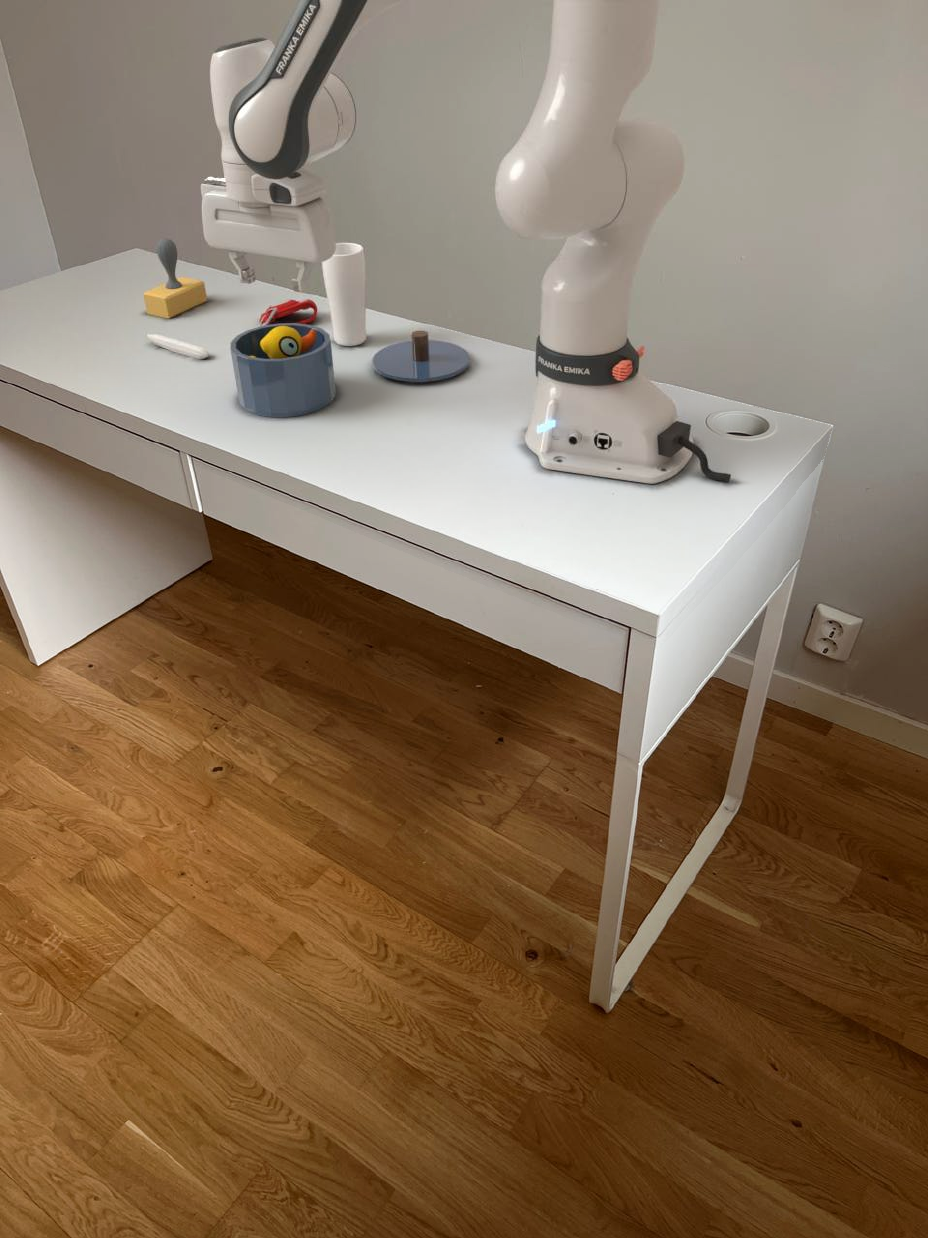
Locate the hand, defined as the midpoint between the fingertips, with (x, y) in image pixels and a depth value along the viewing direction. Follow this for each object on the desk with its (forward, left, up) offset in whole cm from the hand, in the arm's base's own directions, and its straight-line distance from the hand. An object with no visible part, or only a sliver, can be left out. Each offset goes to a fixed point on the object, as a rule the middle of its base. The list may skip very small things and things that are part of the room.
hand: (274, 286), depth 141 cm
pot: (0, 0, -16) cm, 16 cm away
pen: (+27, -6, -17) cm, 32 cm away
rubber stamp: (+41, -21, -17) cm, 49 cm away
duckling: (+1, 0, -16) cm, 16 cm away
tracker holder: (+19, -23, -17) cm, 34 cm away
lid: (-11, -19, -16) cm, 27 cm away
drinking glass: (+4, -22, -17) cm, 28 cm away
